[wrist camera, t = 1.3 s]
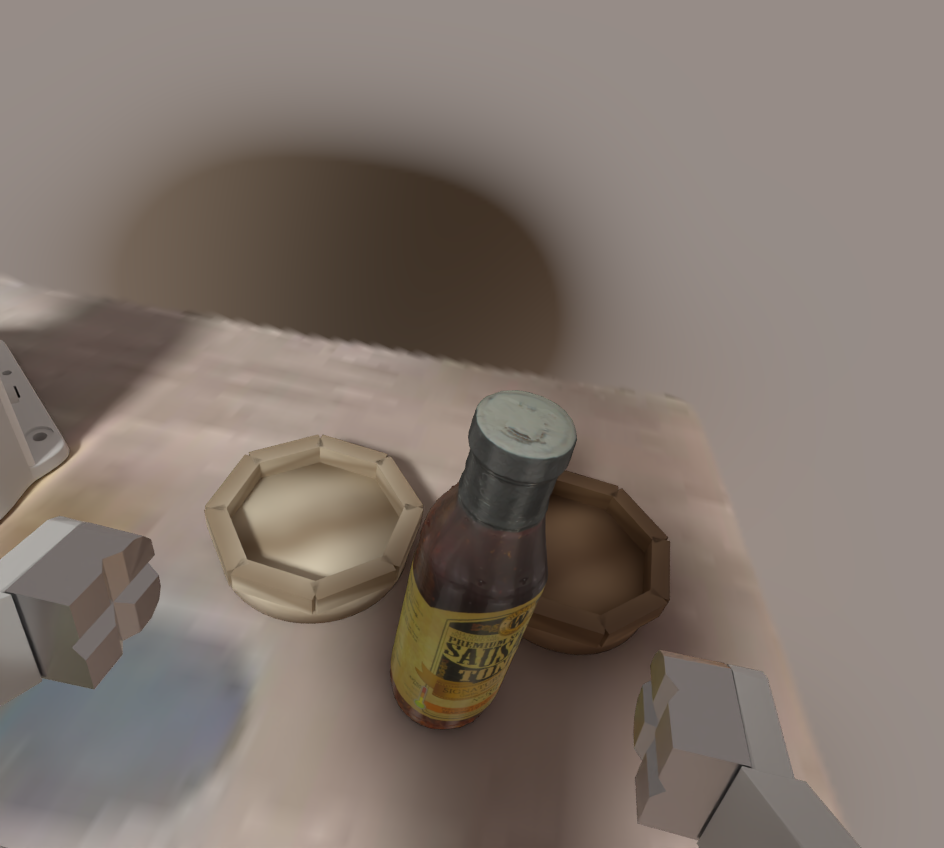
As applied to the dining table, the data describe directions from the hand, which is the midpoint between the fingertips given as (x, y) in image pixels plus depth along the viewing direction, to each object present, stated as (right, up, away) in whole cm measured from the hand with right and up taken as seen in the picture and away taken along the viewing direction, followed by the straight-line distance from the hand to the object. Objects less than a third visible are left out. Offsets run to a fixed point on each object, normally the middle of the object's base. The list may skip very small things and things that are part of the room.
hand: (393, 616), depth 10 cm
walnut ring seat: (+7, -7, +34) cm, 35 cm away
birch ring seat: (-9, -5, +32) cm, 34 cm away
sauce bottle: (0, -12, +27) cm, 29 cm away
